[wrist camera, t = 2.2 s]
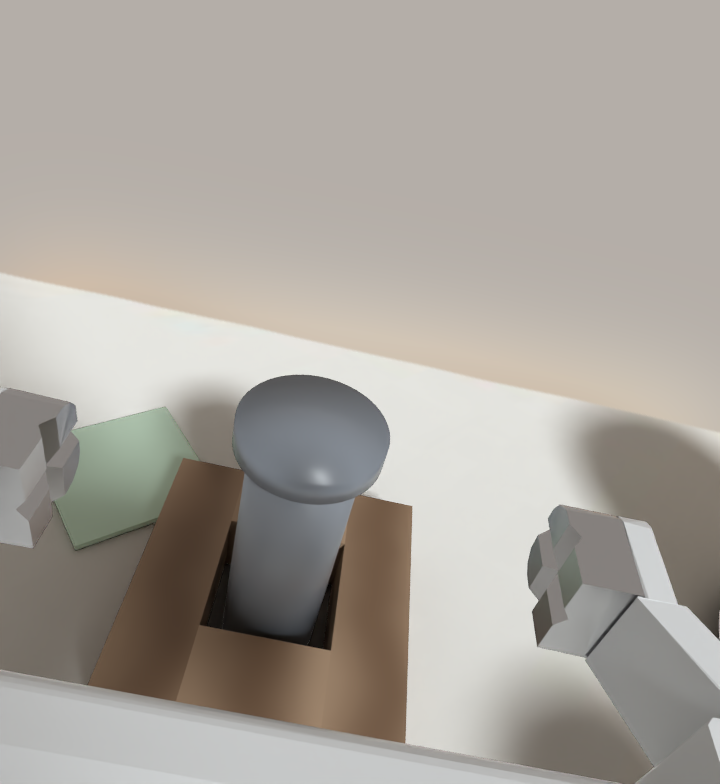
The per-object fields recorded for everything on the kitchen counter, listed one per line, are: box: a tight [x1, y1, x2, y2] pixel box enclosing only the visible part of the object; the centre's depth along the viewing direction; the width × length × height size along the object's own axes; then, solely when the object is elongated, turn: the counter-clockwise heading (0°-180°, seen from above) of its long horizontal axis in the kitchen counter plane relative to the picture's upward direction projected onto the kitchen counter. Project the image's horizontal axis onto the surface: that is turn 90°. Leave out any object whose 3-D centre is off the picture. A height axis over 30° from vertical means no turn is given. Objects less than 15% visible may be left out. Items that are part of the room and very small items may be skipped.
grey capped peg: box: [222, 375, 390, 646], centre depth 32 cm, size 6×6×15 cm
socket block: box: [88, 458, 412, 743], centre depth 35 cm, size 14×14×4 cm
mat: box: [54, 407, 200, 550], centre depth 42 cm, size 9×9×1 cm
